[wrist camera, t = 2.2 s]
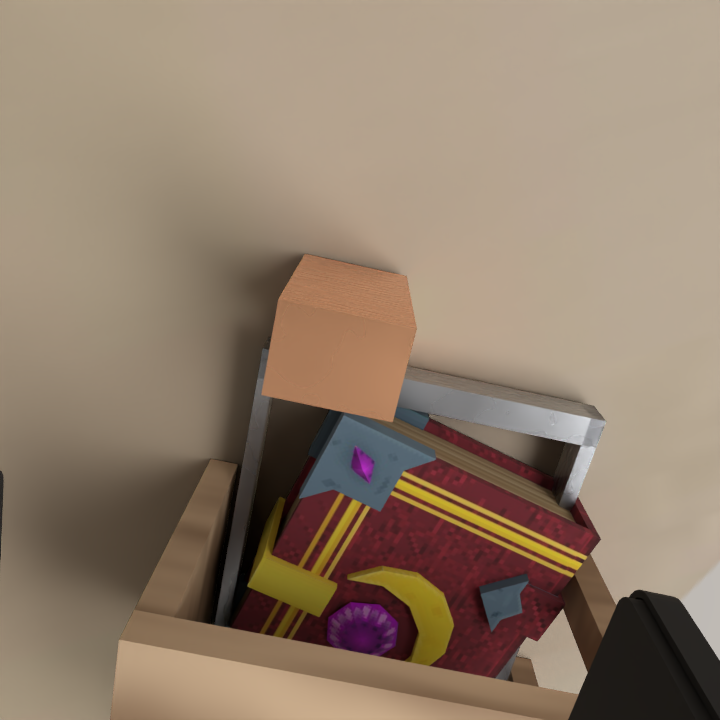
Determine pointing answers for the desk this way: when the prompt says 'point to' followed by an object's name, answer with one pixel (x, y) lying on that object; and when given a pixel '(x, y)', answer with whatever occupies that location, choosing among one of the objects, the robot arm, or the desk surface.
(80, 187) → the desk surface
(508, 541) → the decorative book
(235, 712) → the wooden arch stand
